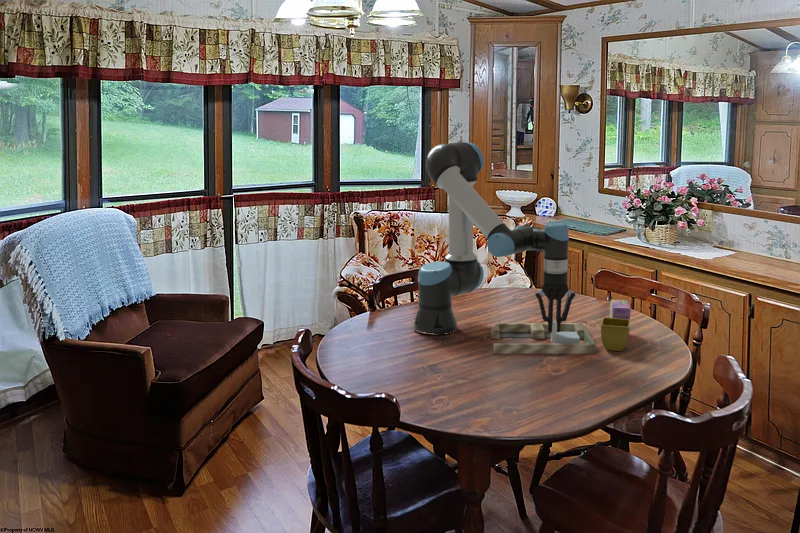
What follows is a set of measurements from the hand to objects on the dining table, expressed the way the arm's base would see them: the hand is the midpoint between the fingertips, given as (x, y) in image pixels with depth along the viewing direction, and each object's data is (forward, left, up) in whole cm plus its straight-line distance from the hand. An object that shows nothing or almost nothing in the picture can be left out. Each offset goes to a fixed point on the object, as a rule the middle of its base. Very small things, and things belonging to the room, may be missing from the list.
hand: (553, 341), depth 243 cm
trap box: (-5, +1, -1) cm, 5 cm away
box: (+15, +20, -2) cm, 25 cm away
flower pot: (+18, +8, -2) cm, 19 cm away
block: (+4, +2, -2) cm, 5 cm away
